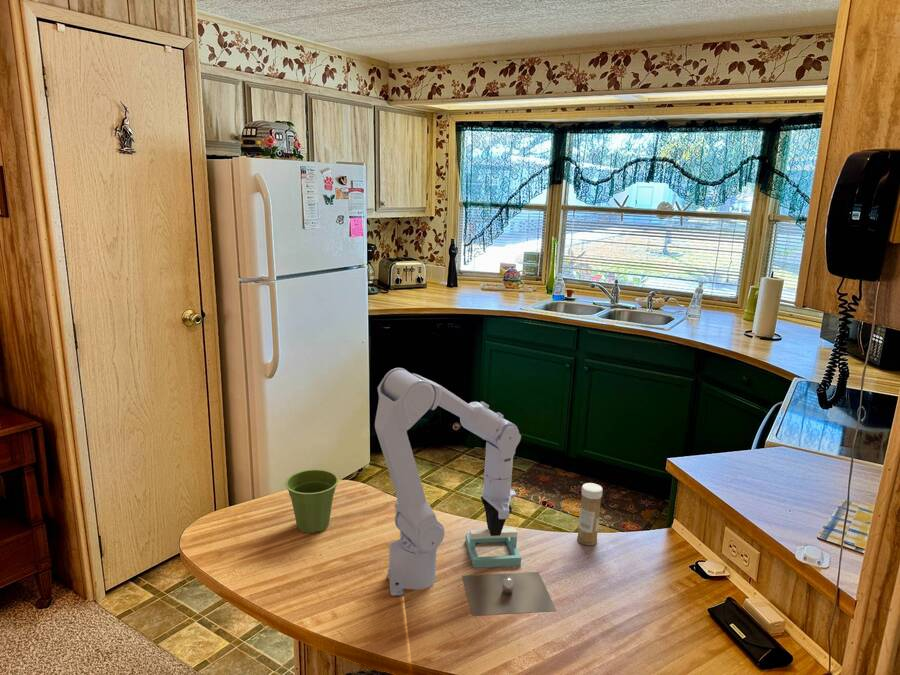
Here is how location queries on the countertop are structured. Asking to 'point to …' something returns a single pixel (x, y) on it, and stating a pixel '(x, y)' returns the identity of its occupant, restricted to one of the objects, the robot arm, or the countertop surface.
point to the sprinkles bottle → (589, 513)
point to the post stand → (507, 593)
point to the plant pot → (312, 498)
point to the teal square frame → (484, 536)
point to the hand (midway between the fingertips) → (494, 532)
